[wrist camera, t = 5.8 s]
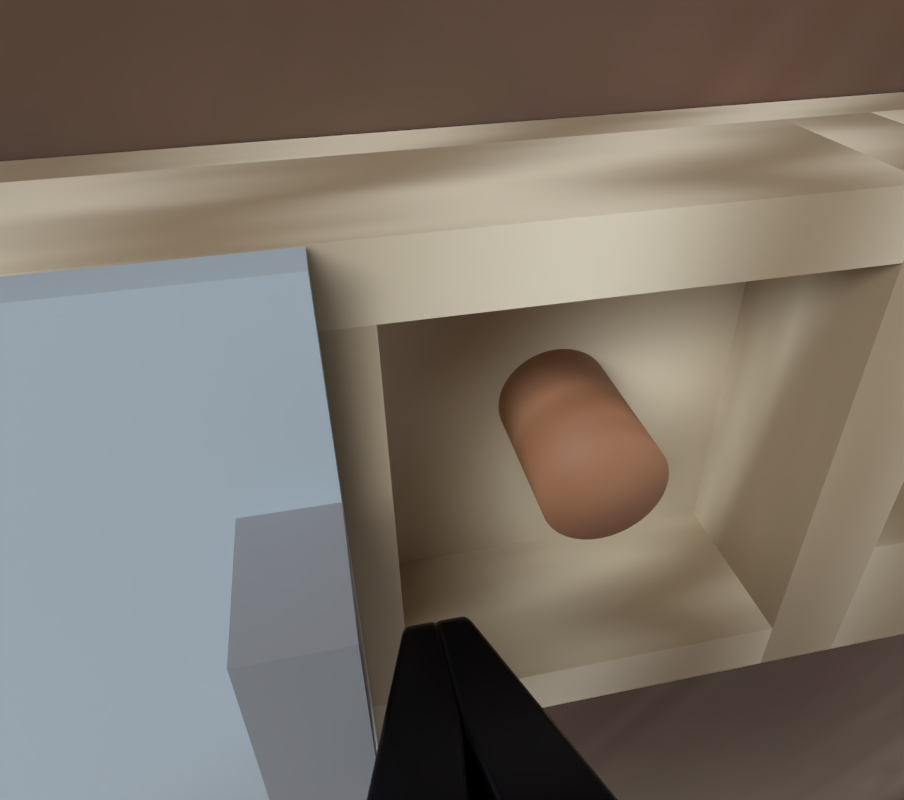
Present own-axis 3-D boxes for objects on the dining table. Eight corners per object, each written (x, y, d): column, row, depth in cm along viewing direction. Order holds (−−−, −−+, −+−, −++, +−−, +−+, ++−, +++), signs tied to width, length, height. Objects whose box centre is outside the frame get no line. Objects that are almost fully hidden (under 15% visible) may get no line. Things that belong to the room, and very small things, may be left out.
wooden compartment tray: (1092, 77, 13) (1374, 139, 9) (915, 474, 18) (1058, 601, 14) (-370, 190, 9) (-714, 345, 6) (-67, 639, 14) (-166, 852, 11)
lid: (305, 246, 7) (317, 387, 5) (377, 744, 12) (399, 916, 10) (-511, 327, 6) (-913, 547, 4) (-63, 835, 11) (-139, 1047, 9)
